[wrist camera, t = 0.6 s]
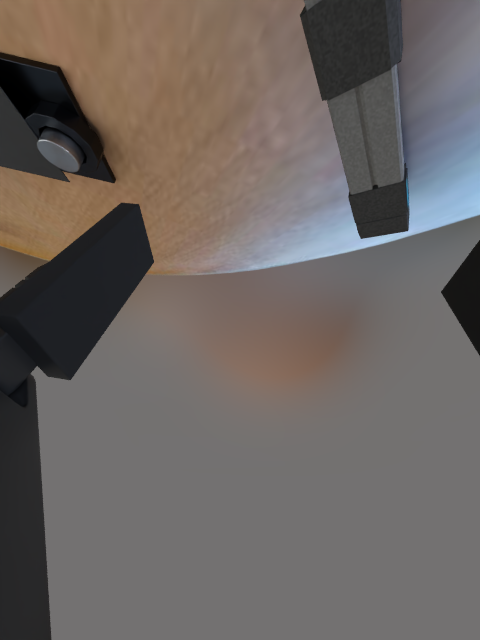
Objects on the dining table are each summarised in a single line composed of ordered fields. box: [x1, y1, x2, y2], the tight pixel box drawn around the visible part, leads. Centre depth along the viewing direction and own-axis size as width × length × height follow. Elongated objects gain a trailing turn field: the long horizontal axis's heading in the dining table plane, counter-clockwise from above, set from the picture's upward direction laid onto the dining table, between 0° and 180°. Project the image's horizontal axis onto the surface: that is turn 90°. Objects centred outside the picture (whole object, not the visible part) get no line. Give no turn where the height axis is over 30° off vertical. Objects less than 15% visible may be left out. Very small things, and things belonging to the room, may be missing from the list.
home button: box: [37, 127, 85, 172], centre depth 28 cm, size 4×4×2 cm
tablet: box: [0, 53, 116, 183], centre depth 29 cm, size 19×13×2 cm
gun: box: [300, 0, 409, 239], centre depth 20 cm, size 4×20×10 cm, turn 34°
